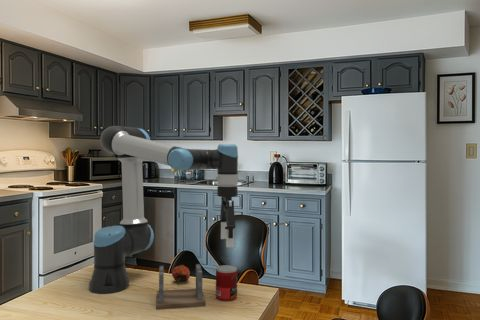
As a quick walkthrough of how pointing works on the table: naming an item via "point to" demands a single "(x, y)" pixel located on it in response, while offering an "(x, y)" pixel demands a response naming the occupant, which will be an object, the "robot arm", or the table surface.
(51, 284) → the table surface
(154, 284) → the table surface
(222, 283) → the canned food
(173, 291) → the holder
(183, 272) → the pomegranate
